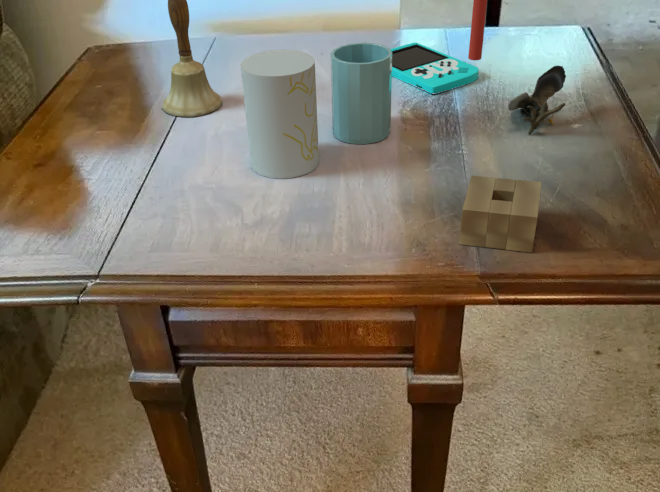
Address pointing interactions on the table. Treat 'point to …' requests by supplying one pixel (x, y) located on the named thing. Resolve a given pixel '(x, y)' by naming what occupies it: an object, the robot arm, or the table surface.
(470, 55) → the straw
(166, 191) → the table surface
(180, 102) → the hand bell
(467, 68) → the handheld game console
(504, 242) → the straw holder
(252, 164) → the cup
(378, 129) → the tumbler
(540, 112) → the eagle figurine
